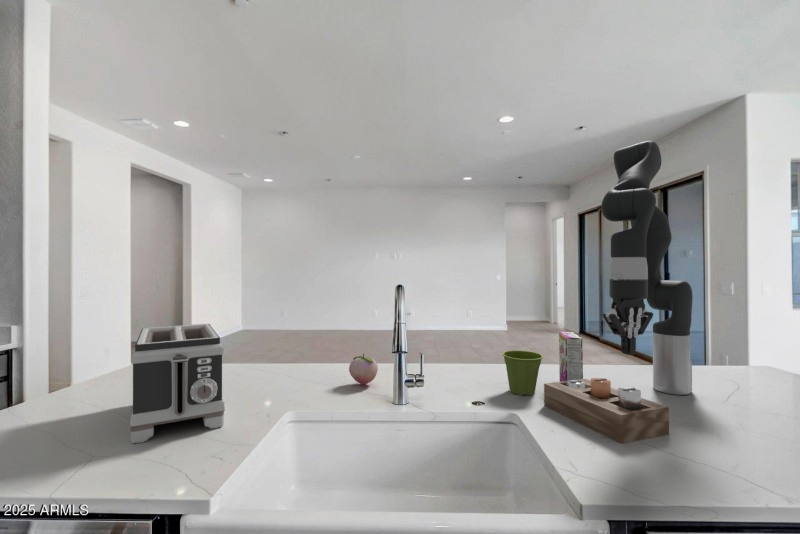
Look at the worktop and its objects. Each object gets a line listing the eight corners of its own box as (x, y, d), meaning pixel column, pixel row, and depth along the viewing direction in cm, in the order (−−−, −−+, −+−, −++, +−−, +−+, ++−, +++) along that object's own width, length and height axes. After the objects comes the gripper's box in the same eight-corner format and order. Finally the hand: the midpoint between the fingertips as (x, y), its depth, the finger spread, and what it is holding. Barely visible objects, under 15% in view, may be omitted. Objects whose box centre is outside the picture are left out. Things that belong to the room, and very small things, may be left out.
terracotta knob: (600, 391, 99) (600, 376, 99) (615, 396, 94) (614, 380, 94) (586, 393, 97) (586, 377, 97) (600, 398, 93) (600, 382, 93)
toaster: (127, 454, 78) (127, 349, 78) (138, 404, 107) (138, 327, 107) (227, 434, 87) (227, 340, 87) (212, 393, 117) (212, 322, 117)
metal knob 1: (576, 392, 106) (576, 378, 106) (589, 397, 102) (589, 382, 102) (563, 394, 105) (563, 379, 105) (575, 399, 100) (575, 384, 100)
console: (585, 400, 109) (585, 378, 109) (669, 434, 87) (668, 407, 87) (544, 405, 105) (544, 383, 105) (621, 443, 82) (621, 415, 82)
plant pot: (499, 395, 113) (499, 356, 114) (504, 384, 124) (504, 349, 124) (542, 400, 109) (542, 360, 109) (544, 388, 120) (544, 352, 120)
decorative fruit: (383, 383, 125) (383, 352, 125) (368, 390, 118) (368, 357, 118) (360, 379, 130) (360, 349, 130) (344, 385, 123) (344, 354, 123)
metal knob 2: (628, 401, 91) (628, 384, 91) (645, 407, 87) (645, 390, 87) (613, 403, 90) (613, 386, 90) (630, 410, 85) (630, 392, 85)
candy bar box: (558, 381, 127) (558, 331, 127) (574, 382, 126) (574, 331, 126) (565, 392, 116) (565, 337, 116) (583, 393, 115) (583, 337, 115)
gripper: (635, 277, 94) (635, 348, 94) (592, 277, 90) (592, 352, 90) (665, 277, 87) (665, 355, 87) (620, 278, 83) (620, 359, 83)
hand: (628, 353), depth 88 cm, fingers closed
